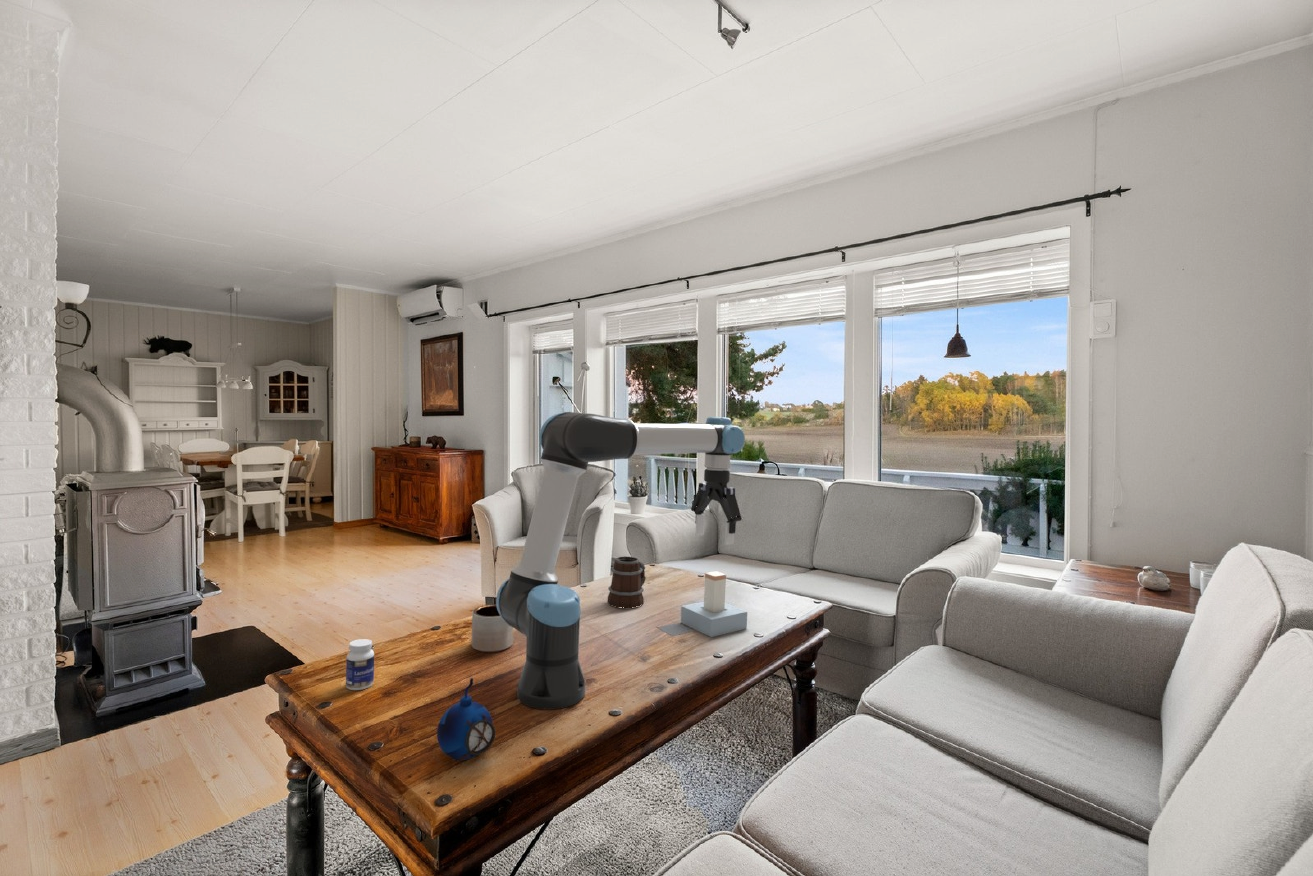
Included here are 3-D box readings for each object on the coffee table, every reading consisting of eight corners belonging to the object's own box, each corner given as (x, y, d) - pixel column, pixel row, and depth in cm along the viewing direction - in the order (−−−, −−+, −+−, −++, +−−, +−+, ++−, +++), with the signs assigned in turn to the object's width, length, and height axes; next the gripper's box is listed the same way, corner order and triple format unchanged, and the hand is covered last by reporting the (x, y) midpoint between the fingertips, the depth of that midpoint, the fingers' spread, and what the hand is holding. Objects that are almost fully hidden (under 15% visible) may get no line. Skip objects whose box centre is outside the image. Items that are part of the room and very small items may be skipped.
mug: (629, 611, 199) (630, 565, 198) (600, 603, 206) (601, 558, 205) (657, 600, 211) (658, 556, 211) (629, 593, 218) (631, 551, 218)
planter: (521, 646, 167) (521, 611, 166) (485, 656, 159) (486, 620, 158) (498, 635, 174) (499, 601, 174) (463, 645, 166) (464, 609, 166)
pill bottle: (355, 693, 136) (356, 649, 136) (340, 686, 139) (341, 643, 139) (379, 684, 141) (379, 641, 141) (364, 677, 144) (364, 635, 144)
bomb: (457, 781, 106) (459, 695, 105) (426, 755, 113) (428, 675, 113) (506, 758, 113) (508, 678, 113) (473, 736, 121) (475, 660, 120)
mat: (672, 639, 175) (672, 636, 175) (656, 630, 182) (656, 627, 182) (694, 634, 180) (694, 631, 180) (677, 626, 187) (678, 622, 187)
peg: (712, 623, 182) (714, 576, 182) (703, 619, 186) (705, 573, 185) (724, 620, 185) (726, 574, 184) (714, 616, 189) (716, 571, 188)
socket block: (710, 640, 176) (711, 619, 176) (680, 625, 187) (681, 605, 187) (746, 631, 184) (747, 611, 184) (715, 617, 195) (716, 599, 195)
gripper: (755, 472, 176) (752, 547, 176) (700, 464, 196) (697, 531, 197) (736, 473, 171) (732, 549, 172) (681, 465, 192) (678, 533, 193)
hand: (714, 539), depth 185 cm, fingers open, 13 cm apart
